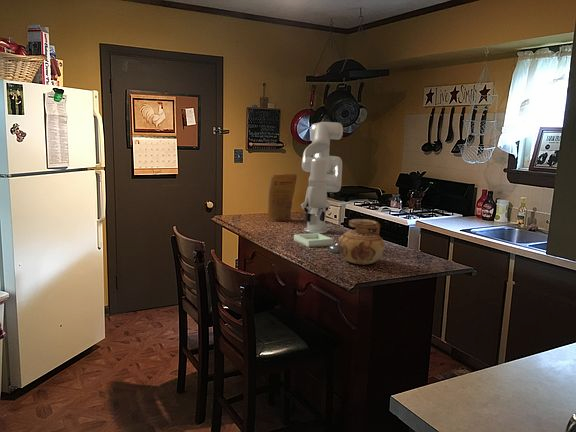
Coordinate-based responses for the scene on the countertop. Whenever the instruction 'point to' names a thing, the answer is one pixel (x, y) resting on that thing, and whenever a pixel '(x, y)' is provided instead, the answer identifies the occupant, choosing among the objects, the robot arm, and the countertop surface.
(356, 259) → the clay pot
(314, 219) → the lighter
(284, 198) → the pancake mix bag
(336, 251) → the pot lid
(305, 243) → the tray
